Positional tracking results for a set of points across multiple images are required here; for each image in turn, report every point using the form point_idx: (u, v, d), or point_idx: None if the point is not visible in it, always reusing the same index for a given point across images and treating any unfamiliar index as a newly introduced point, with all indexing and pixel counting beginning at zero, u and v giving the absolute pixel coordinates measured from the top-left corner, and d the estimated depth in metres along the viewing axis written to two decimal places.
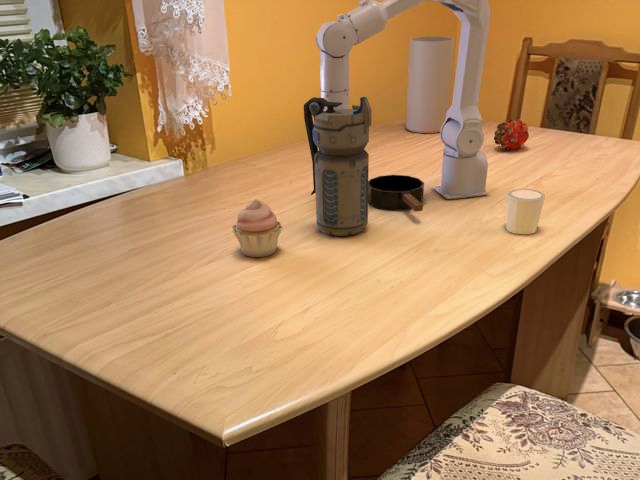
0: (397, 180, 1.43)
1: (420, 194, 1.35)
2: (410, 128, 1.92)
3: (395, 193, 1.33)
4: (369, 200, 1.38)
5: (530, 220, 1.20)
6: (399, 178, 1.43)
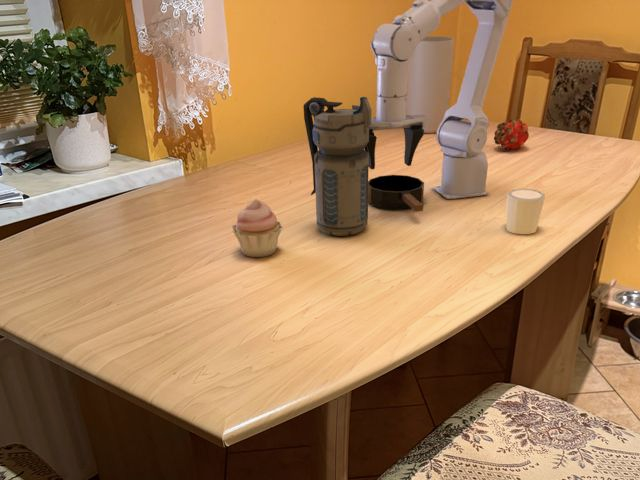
0: (397, 180, 1.43)
1: (420, 194, 1.35)
2: None
3: (395, 193, 1.33)
4: (369, 200, 1.38)
5: (530, 220, 1.20)
6: (399, 178, 1.43)
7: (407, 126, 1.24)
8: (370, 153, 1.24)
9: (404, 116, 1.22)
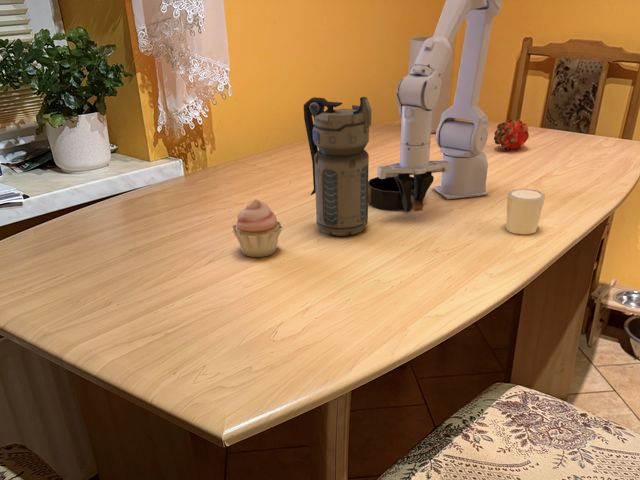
0: None
1: None
2: None
3: (395, 193, 1.33)
4: (369, 200, 1.38)
5: (530, 220, 1.20)
6: None
7: (429, 171, 1.27)
8: (406, 197, 1.27)
9: (427, 163, 1.24)
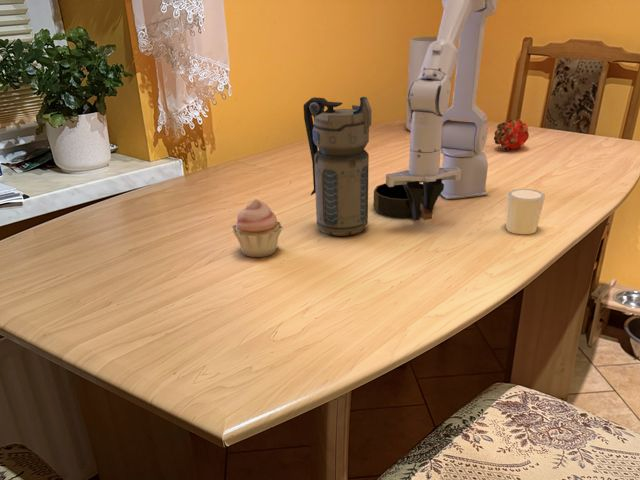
0: None
1: None
2: (410, 128, 1.92)
3: (403, 201, 1.28)
4: (376, 207, 1.33)
5: (530, 220, 1.20)
6: None
7: (440, 179, 1.22)
8: (416, 205, 1.23)
9: (437, 170, 1.19)
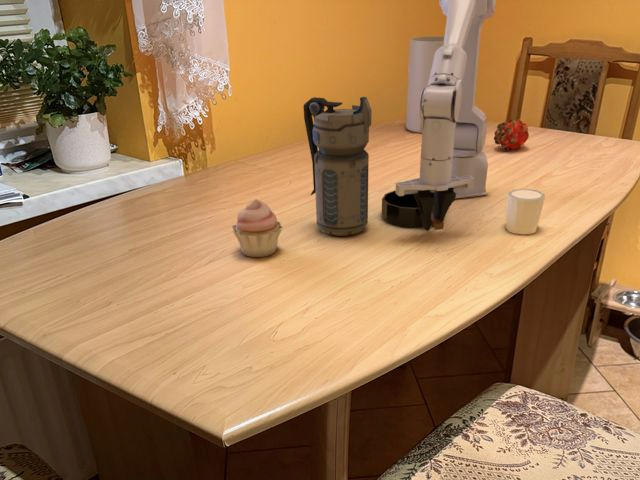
0: None
1: None
2: (410, 128, 1.92)
3: (413, 209, 1.24)
4: (384, 216, 1.29)
5: (530, 220, 1.20)
6: None
7: (451, 188, 1.18)
8: (426, 215, 1.18)
9: (449, 179, 1.15)
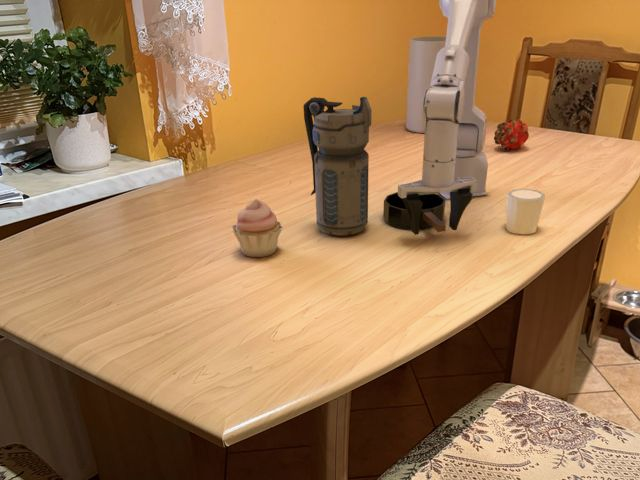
0: None
1: (442, 212, 1.26)
2: (410, 128, 1.92)
3: None
4: (386, 218, 1.28)
5: (530, 220, 1.20)
6: None
7: (454, 190, 1.17)
8: (415, 219, 1.16)
9: (452, 181, 1.14)
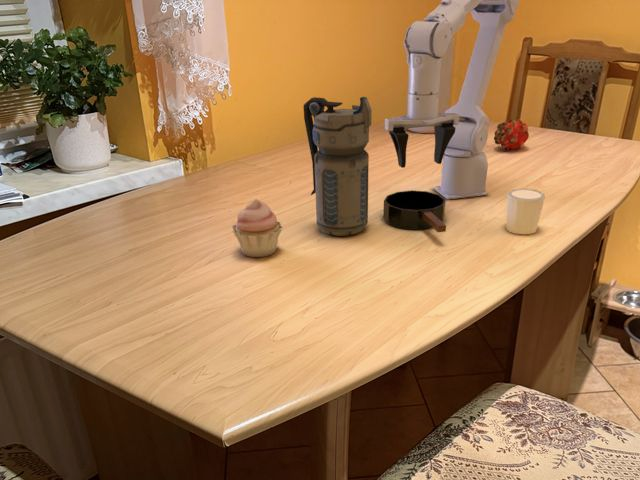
0: (416, 196, 1.33)
1: (442, 212, 1.26)
2: (410, 128, 1.92)
3: (415, 211, 1.23)
4: (386, 218, 1.28)
5: (530, 220, 1.20)
6: (418, 194, 1.33)
7: (438, 124, 1.24)
8: (401, 151, 1.23)
9: (436, 114, 1.21)
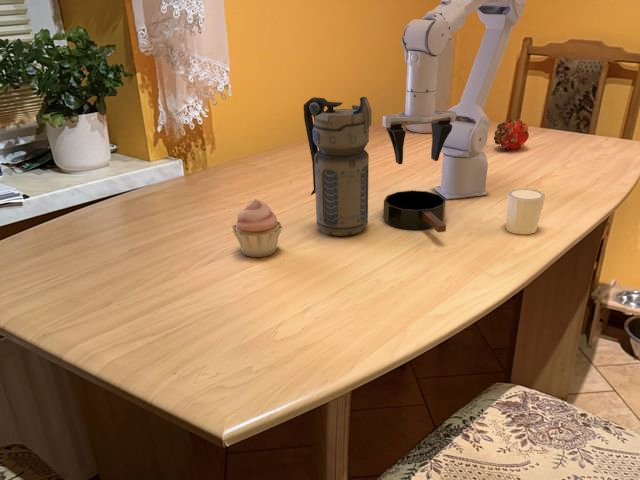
0: (416, 196, 1.33)
1: (442, 212, 1.26)
2: (410, 128, 1.92)
3: (415, 211, 1.23)
4: (386, 218, 1.28)
5: (530, 220, 1.20)
6: (418, 194, 1.33)
7: (435, 121, 1.25)
8: (398, 148, 1.25)
9: (433, 111, 1.22)
